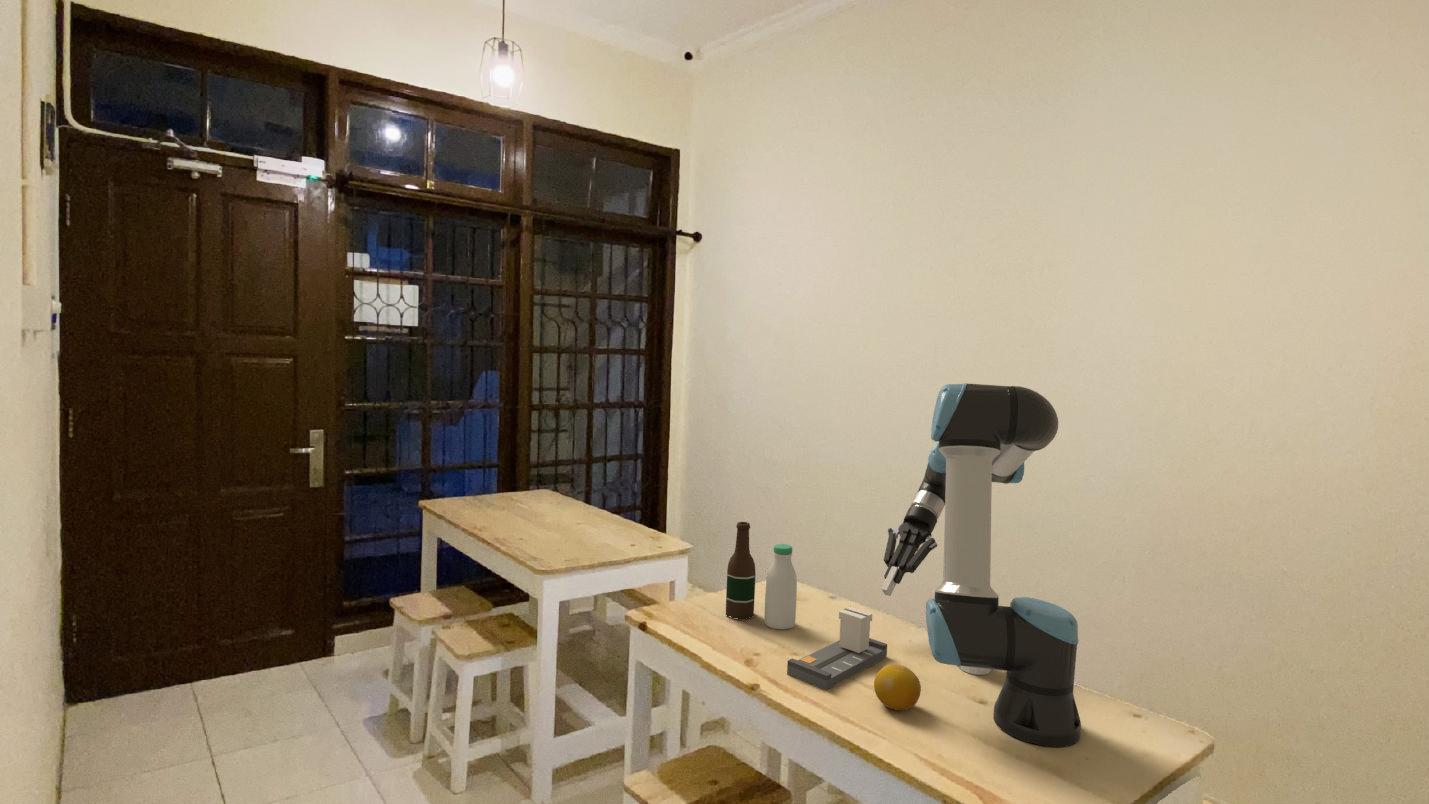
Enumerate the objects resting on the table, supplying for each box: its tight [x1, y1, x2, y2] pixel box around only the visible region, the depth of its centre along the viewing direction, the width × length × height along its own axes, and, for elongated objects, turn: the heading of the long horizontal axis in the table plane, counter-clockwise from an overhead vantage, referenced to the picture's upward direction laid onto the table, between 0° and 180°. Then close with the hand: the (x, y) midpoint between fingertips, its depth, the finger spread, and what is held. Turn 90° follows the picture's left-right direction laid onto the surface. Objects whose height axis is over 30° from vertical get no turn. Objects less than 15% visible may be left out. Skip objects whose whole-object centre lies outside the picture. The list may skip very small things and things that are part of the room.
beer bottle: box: [725, 521, 756, 620], centre depth 194 cm, size 8×8×24 cm
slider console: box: [786, 637, 888, 691], centre depth 167 cm, size 24×10×3 cm, turn 137°
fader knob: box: [838, 606, 873, 653], centre depth 171 cm, size 5×6×8 cm
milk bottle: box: [763, 543, 798, 630], centre depth 189 cm, size 8×8×20 cm
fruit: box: [873, 663, 922, 711], centre depth 149 cm, size 9×8×8 cm
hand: (885, 592), depth 181 cm, fingers closed
